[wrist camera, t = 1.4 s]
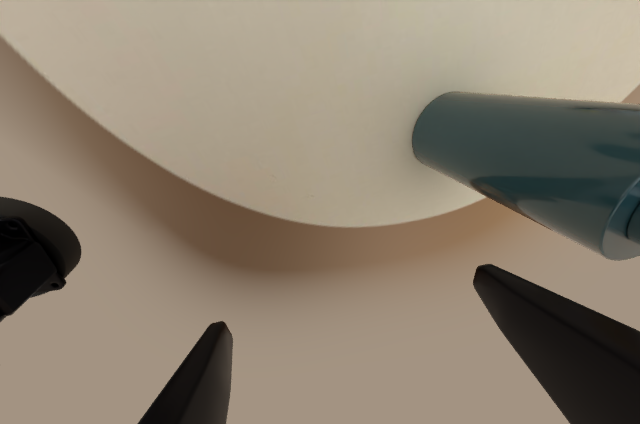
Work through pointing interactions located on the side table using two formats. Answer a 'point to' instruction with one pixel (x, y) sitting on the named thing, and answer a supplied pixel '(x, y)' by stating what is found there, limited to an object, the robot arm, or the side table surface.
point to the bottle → (544, 161)
